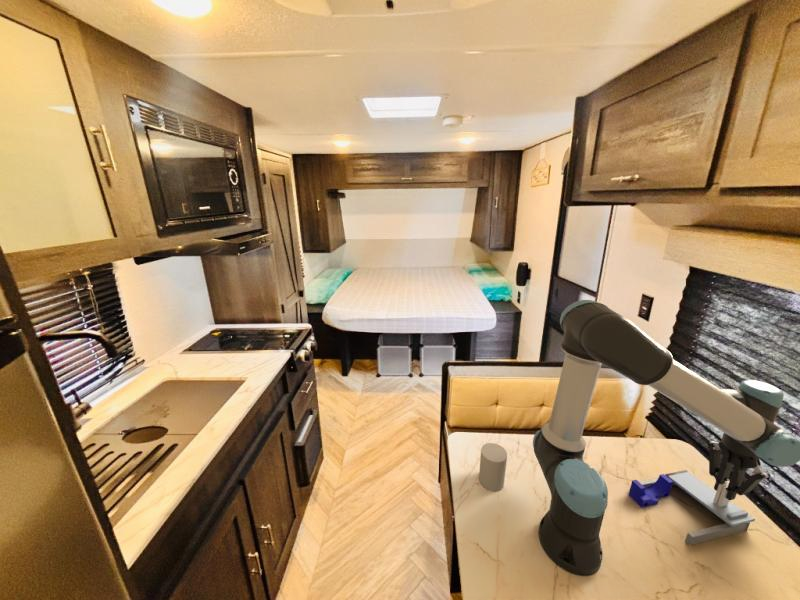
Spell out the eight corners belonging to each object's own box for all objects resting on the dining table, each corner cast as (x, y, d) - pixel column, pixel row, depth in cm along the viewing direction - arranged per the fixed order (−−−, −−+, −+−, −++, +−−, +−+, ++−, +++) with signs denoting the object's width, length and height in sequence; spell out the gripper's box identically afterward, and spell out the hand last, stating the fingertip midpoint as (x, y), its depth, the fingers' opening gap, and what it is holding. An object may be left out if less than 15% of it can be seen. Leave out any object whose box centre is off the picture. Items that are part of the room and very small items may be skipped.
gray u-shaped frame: (689, 545, 83) (692, 537, 82) (631, 490, 99) (633, 482, 99) (746, 530, 87) (750, 522, 86) (681, 479, 103) (684, 472, 102)
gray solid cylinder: (494, 468, 108) (497, 440, 105) (509, 487, 101) (512, 458, 97) (474, 474, 106) (476, 446, 102) (487, 494, 98) (490, 464, 95)
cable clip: (641, 508, 94) (645, 492, 92) (628, 495, 98) (632, 480, 96) (673, 500, 96) (678, 485, 94) (659, 488, 100) (663, 473, 98)
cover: (731, 527, 84) (733, 521, 83) (664, 476, 101) (665, 471, 100) (754, 521, 85) (756, 515, 84) (684, 472, 102) (685, 467, 102)
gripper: (789, 452, 77) (759, 522, 84) (726, 418, 90) (704, 482, 96) (766, 456, 76) (738, 528, 82) (705, 421, 88) (685, 486, 95)
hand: (720, 503), depth 89 cm, fingers closed
